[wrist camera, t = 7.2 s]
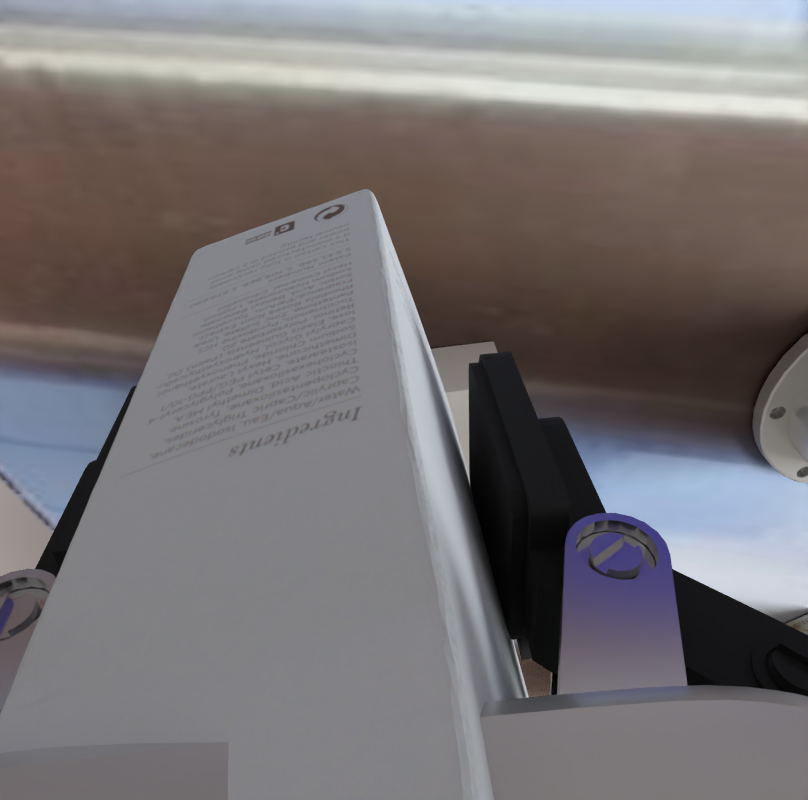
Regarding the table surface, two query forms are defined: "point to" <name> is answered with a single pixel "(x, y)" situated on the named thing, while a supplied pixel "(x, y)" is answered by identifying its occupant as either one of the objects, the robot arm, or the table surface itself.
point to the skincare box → (282, 540)
